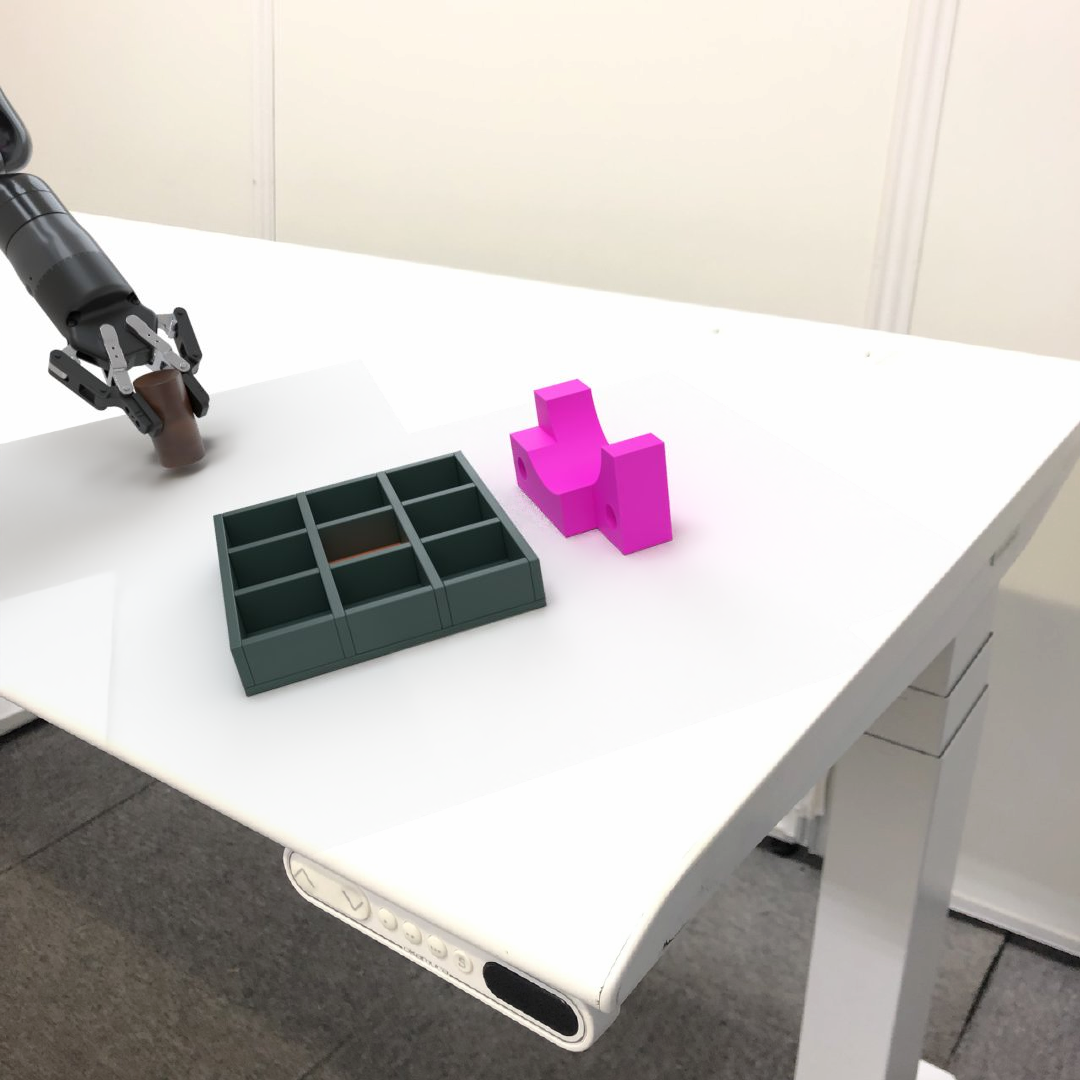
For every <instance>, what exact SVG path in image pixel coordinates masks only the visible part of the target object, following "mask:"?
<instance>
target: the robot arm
mask: <svg viewBox="0 0 1080 1080" xmlns="http://www.w3.org/2000/svg"><path fill="white" fill-rule="evenodd" d="M33 155H34V143H33V138H32V135H31V133H30V131H29V129H28V127H27V125H26V124H25V122H24V120H23V118H22V117H21V116H20V114H19V112H18V111H17V109H16V108H15V106H14V105H13V104H12V103H11V101H10V99H9V97H8V95H6V93H5V91H4V90H3V88H2V86H1V85H0V251H1V252H2V254H3V255H4V256H5V257H6V259H7V260H8V262H9V263H10V264H11V266H12V268H13V270H14V272H15V274H16V276H17V277H18V279H19V280H20V282H21V284H22V285H23V286H24V288H25V290H26V291H27V293H28V295H29V296H31V297H32V298H33V299H34V300H35V302H36V303H37V305H38V306H39V307H40V309H42V311H43V312H44V314H45V315H46V316H47V318H48V319H49V320H50V322H51V323H52V324H53V325H54V327H55V328H56V329H57V331H58V332H59V334H60V335H61V336H62V337H63V338H64V339H65V340H66V344H67V346H65V347H64V348H63V349H62V350H61V349H58V348H57V349H52V350H50V352H49V358H48V367H47V372H48V374H49V375H50V376H51V377H52V378H54V379H55V380H56V381H58V382H59V383H61V384H62V385H63V386H64V387H66V388H67V389H68V390H70V391H71V392H72V393H74V394H75V395H76V396H77V397H79V398H80V399H82V400H83V401H84V402H86V404H89V405H90V406H91V407H92V408H94V409H95V410H96V411H100V412H101V411H105V410H107V409H108V408H119V409H121V410H122V411H123V412H124V413H125V415H126V416H127V417H128V419H129V420H130V421H131V422H132V424H133V425H134V426H135V428H136V429H137V430H138V432H140V433H141V434H143V435H144V436H145V435H147V434H148V436H149V437H150V439H151V438H154V437H156V436H159V435H160V434H161V431H162V427H163V425H162V422H161V420H160V419H159V418H158V416H157V415H156V414H155V412H154V411H153V410H152V408H151V407H150V406H149V404H148V403H147V402H146V401H145V399H144V398H143V397H142V395H141V394H140V393H139V392H137V393H135V390H134V387H133V381H132V380H131V378H130V375H129V372H128V371H130V370H131V369H133V368H135V367H143V366H146V368H148V369H149V370H150V371H151V372H153V371H158V370H164V369H176V370H179V371H180V372H181V375H182V378H183V382H184V385H185V388H186V391H187V394H188V397H189V400H190V404H191V407H192V410H193V413H194V416H195V418H197V419H201V418H204V417H205V416H207V414H208V412H209V410H210V409H209V408H210V401H211V399H210V395H209V394H208V392H207V391H206V390H205V388H204V387H203V385H201V383H200V381H199V380H198V379H197V378H196V377H195V375H197V373H198V372H199V369H200V368H199V366H200V363H201V362H202V359H203V352H202V350H201V347H200V344H199V341H198V338H197V335H196V333H195V330H194V327H193V325H192V323H191V320H190V317H189V315H188V312H187V310H186V309H185V308H183V307H182V306H177V307H175V308H174V309H173V311H172V313H159V314H157V313H156V312H155V311H153V309H151V308H149V307H147V306H146V305H144V304H143V303H142V302H141V300H140V298H139V297H138V295H137V293H136V292H135V290H134V289H133V287H132V285H130V283H129V282H128V281H127V279H126V278H125V276H124V275H123V274H122V273H121V272H120V271H119V269H118V268H117V266H116V264H114V263H113V262H112V260H111V258H109V256H108V255H107V254H106V252H105V251H104V250H103V248H102V247H101V246H100V245H99V243H98V242H97V241H96V240H95V238H94V237H93V235H91V234H90V232H89V231H88V230H87V229H86V228H84V227H83V226H82V225H81V223H79V222H78V220H77V219H76V218H75V217H74V215H73V214H72V213H71V212H70V210H69V209H68V208H67V206H66V205H65V204H64V203H63V201H62V200H61V198H60V197H59V196H58V194H56V192H55V191H54V190H53V188H52V187H51V186H50V185H49V183H47V182H46V181H45V180H44V179H43V178H41V177H39V176H38V175H35V174H32V173H28V172H22V171H24V170H26V168H27V167H28V166H29V164H30V163H31V161H32V158H33ZM159 329H160V330H161V331H164V333H165V334H166V336H167V338H168V339H171V340H173V341H174V344H175V347H176V349H177V352H178V353H176V352H175V351H174V350H173V347H172V345H171V344H170V343H168V342H167V341H166V340H165V339H164V338H162V337H161V336H160V335H158V331H159ZM81 361H83V362H86V363H88V364H90V365H93V366H95V367H98V368H100V369H101V372H102V374H103V377H104V380H105V382H104V381H103V380H101V379H100V378H99V377H97V376H96V375H94V374H93V373H92V372H91V371H90V370H88V369H87V368H86V367H84V366H82V362H81Z"/></svg>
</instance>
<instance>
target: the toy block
mask: <svg viewBox="0 0 1080 1080" xmlns="http://www.w3.org/2000/svg"><path fill="white" fill-rule="evenodd" d="M533 397H534V403H535V412H536V417H537V424H538V425H536V426H532V427H529V428H525V429H522V430H518V431H514V432H510V433H509V441H510V446H511V452H512V460H513V465H514V472H515V477H516V484H517V486H518V487H519V488H520V490H522V492H524V494H525V495H526V496H527V497H528V499H530V501H532V502H533V504H535V505H536V507H537V508H538V509H539V510H540V511H541V512H542V514H543V515H544V516H545V517H546V518H547V519H548V520H549V521H550V522H551V523H552V524H553V525H554V526H555V527H556V528H557V529H558V531H559V532H560V533H561V534H562V535H563V536H564V538H568V537H572V536H575V535H578V534H581V533H585V532H588V531H591V530H594V529H597V530H599V532H601V534H603V536H605V537H606V538H607V539H608V540H609V541H610V542H611V543H612V544H613V545H614V546H615V548H616V549H618V550H619V552H620V553H622V555H624V556H626V555H629V554H632V553H635V552H638V551H641V550H644V549H647V548H651V547H654V546H657V545H661V544H663V543H666V542H669V541H672V540H674V539H673V530H672V529H673V527H672V517H671V504H670V503H671V502H670V493H669V491H670V490H669V480H668V470H667V469H668V467H667V455H666V443H665V441H663V440H662V439H660V438H659V437H658V436H656V435H655V434H654V433H653V432H648V433H643V434H641V435H638V436H633V437H631V438H627V439H624V440H620V441H617V442H614V443H610V444H609V441H608V440H607V437H606V435H605V433H604V430H603V428H602V425H601V423H600V419H599V416H598V412H597V410H596V406H595V402H594V397H593V392H592V388H591V387H590V386H588V385H587V384H586V383H584V382H583V381H581V380H580V379H579V378H574V379H570V380H567V381H564V382H560V383H555V384H552V385H548V386H544V387H540V388H537V389H534V390H533Z"/></svg>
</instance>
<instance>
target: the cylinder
mask: <svg viewBox="0 0 1080 1080" xmlns="http://www.w3.org/2000/svg"><path fill="white" fill-rule="evenodd" d="M132 385H133V388H134V390H133V391H134V393H137V392H139V393H140V394H141V395H142V397H143V398H144V399H145V401H146V402H147V403H148V404H149V406H150V407H151V408H152V410H153V411H154V412H155V414H156V415H157V416H158V418H159V419H160V420H161V422H162V425H163V427H162V431H161V434H160V435H159V436H156V437H154V438H151V437H150V439H151V442H152V445H153V448H154V451H155V453H156V457H157V460H158V462H159V465H160V466H161V467H162V468H164V469H165V468H166V469H178V468H179V469H180V468H183V467H188V466H190V465H193V464H195V463H197V462H199V461H201V460H202V459H203V458H204V457H205V456H206V454H207V451H206V448H205V445H204V441H203V438H202V436H201V435H202V434H201V432H200V429H199V426H198V423H197V419H196V415H195V414H194V413H193V410H192V407H191V404H190V400H189V397H188V394H187V391H186V388H185V385H184V382H183V378H182V375H181V372H180V371H179V370H176V369H164V370H158V371H150V372H147V373H145V374H142V375H140V376H138V377H136V378H135V379H134V380H133V381H132Z"/></svg>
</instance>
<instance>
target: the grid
mask: <svg viewBox="0 0 1080 1080" xmlns="http://www.w3.org/2000/svg"><path fill="white" fill-rule="evenodd" d="M212 519H213V520H212V521H213V528H214V536H215V541H216V542H215V543H216V550H217V556H218V565H219V573H220V574H219V575H220V581H221V588H222V597H223V605H224V611H225V620H226V627H227V634H228V635H227V636H228V641H229V650H230V653H231V656H232V659H233V661H234V664H235V667H236V670H237V673H238V676H239V679H240V682H241V685H242V688H243V691H244V693H245V696H246V697H250V696H253V695H257V694H260V693H263V692H267V691H270V690H274V689H276V688H279V687H282V686H285V685H289V684H294V683H296V682H299V681H302V680H305V679H310V678H312V677H315V676H319V675H322V674H327V673H328V672H332V671H335V670H339V669H342V668H346V667H349V666H353V665H356V664H359V663H362V662H365V661H368V660H373V659H375V658H378V657H382V656H384V655H388V654H391V653H395V652H398V651H402V650H405V649H408V648H411V647H415V646H417V645H421V644H425V643H427V642H431V641H434V640H438V639H441V638H445V637H448V636H451V635H455V634H457V633H458V634H459V633H461V632H465V631H467V630H471V629H474V628H478V627H480V626H484V625H487V624H491V623H493V622H497V621H501V620H503V619H507V618H511V617H514V616H517V615H521V614H523V613H527V612H530V611H534V610H536V609H540V608H544V607H546V606H547V597H546V592H545V585H544V579H543V573H542V567H541V560H540V558H539V557H538V555H537V554H536V552H535V551H534V550H533V548H532V546H530V544H529V542H528V541H527V539H525V537H524V536H523V534H522V532H520V530H519V529H518V528H517V526H516V525H515V523H514V522H513V521H512V519H511V518H510V516H509V515H508V513H507V512H506V511H505V510H504V508H503V507H502V505H501V504H500V503H499V501H498V500H497V499H496V497H495V495H494V494H493V493H492V491H491V490H490V489H489V487H488V486H487V485H486V484H485V482H484V481H483V479H482V478H481V476H480V475H479V474H478V472H477V471H476V470H475V468H474V466H472V464H471V463H470V461H469V460H468V458H467V457H466V456H465V454H464V453H463V452H462V450H457V451H454V452H453V451H452V452H449V453H446V454H445V453H444V454H442V455H439V456H434V457H431V458H427V459H423V460H420V461H419V460H418V461H415V462H412V463H408V464H404V465H400V466H396V467H393V468H388V469H385V470H382V471H377V472H373V473H370V474H365V475H361V476H358V477H354V478H350V479H347V480H343V481H339V482H336V483H330V484H327V485H324V486H320V487H317V488H313V489H309V490H305V491H300V492H296V493H293V494H290V495H285V496H283V497H279V498H274V499H271V500H267V501H262V502H260V503H255V504H252V505H247V506H244V507H240V508H237V509H233V510H229V511H226V512H221V513H218V514H214V515H213V516H212Z"/></svg>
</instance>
